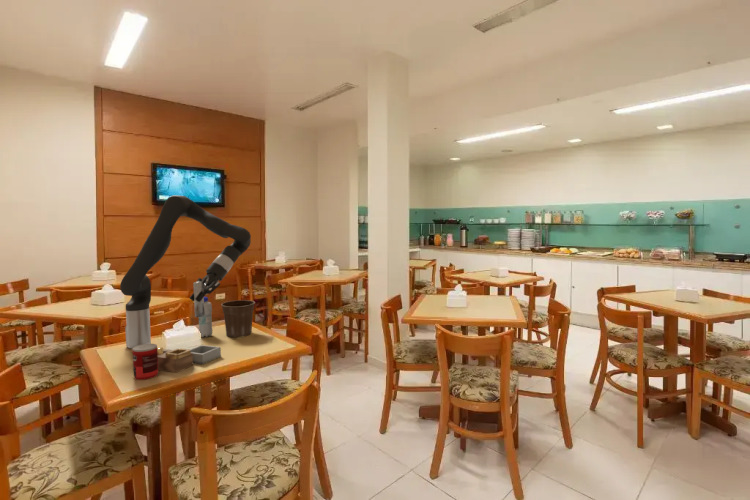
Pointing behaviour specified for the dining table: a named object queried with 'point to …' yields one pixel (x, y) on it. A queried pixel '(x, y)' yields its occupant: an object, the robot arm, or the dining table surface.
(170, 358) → the socket block
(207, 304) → the bottle
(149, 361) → the canned food
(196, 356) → the tray
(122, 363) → the dining table surface
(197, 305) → the rod
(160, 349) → the release plunger
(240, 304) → the plant pot
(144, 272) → the robot arm
